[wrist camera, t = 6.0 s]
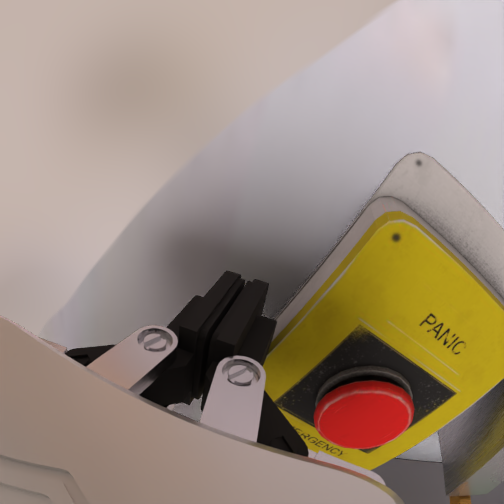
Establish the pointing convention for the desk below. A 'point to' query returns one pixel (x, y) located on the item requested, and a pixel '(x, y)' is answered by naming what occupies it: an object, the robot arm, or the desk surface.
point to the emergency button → (394, 321)
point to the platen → (474, 448)
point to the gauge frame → (426, 483)
